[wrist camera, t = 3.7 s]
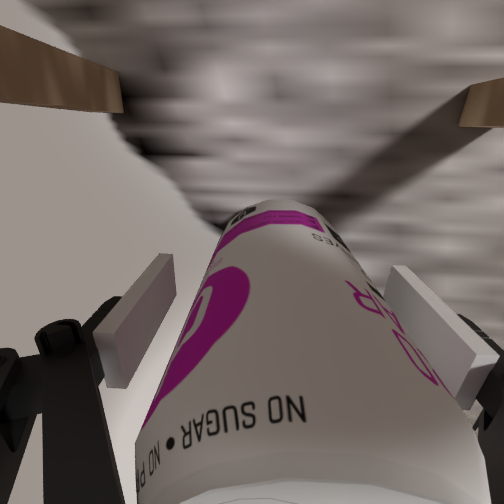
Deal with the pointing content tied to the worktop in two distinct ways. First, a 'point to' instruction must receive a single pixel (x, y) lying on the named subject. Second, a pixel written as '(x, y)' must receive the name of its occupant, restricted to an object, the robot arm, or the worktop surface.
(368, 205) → the worktop surface
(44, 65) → the trapdoor frame
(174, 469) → the supplement can
